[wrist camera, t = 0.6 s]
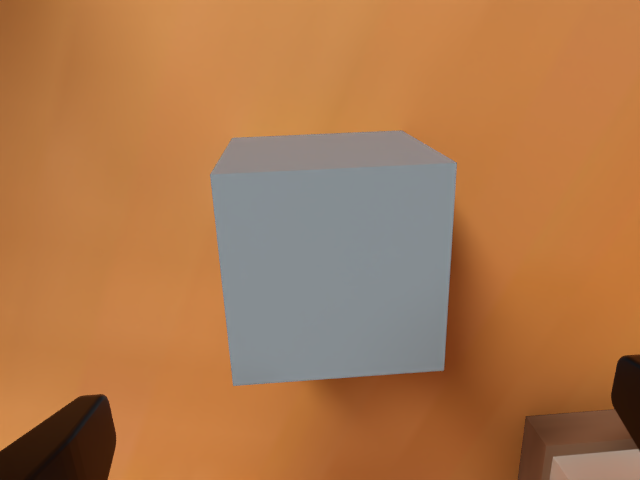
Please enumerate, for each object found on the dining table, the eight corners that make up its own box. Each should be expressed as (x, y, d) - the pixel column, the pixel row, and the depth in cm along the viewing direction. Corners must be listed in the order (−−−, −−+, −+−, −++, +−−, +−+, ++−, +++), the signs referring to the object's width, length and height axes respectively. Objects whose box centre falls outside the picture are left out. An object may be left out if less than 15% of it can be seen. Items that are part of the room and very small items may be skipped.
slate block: (401, 130, 18) (456, 162, 12) (397, 282, 20) (444, 370, 14) (232, 137, 18) (210, 174, 12) (246, 292, 20) (233, 385, 14)
